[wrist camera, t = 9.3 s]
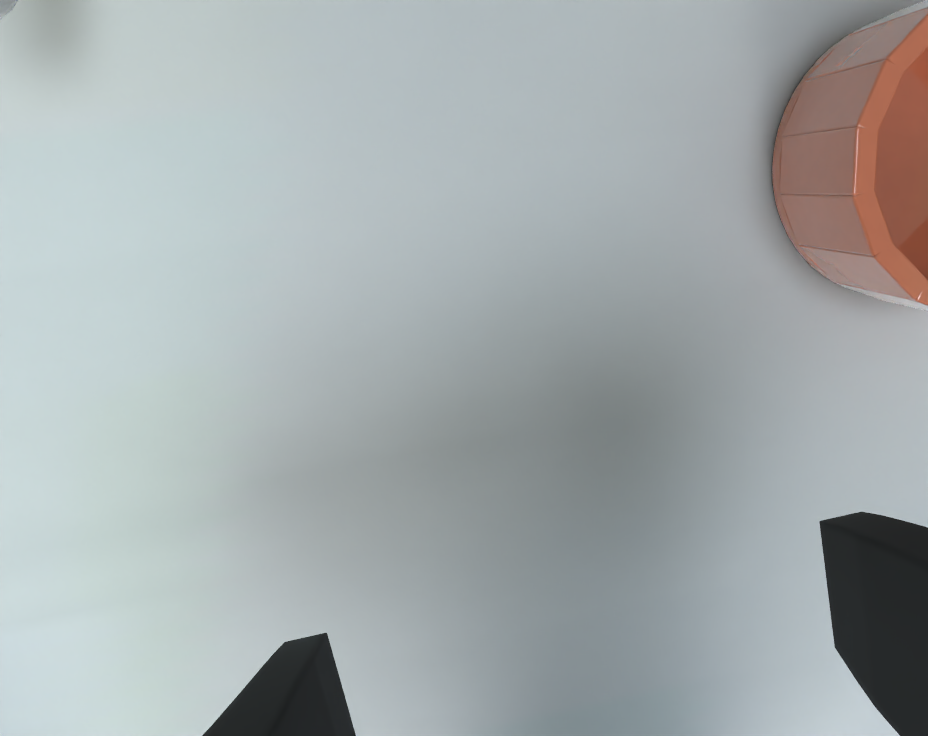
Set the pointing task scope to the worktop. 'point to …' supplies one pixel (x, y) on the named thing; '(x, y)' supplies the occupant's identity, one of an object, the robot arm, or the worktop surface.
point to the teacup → (6, 6)
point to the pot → (862, 161)
